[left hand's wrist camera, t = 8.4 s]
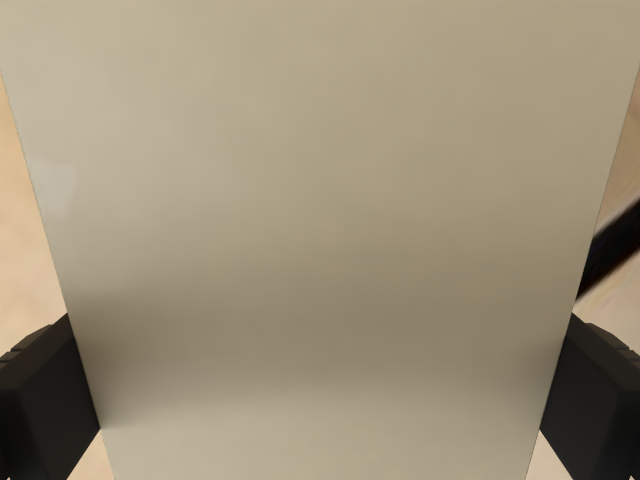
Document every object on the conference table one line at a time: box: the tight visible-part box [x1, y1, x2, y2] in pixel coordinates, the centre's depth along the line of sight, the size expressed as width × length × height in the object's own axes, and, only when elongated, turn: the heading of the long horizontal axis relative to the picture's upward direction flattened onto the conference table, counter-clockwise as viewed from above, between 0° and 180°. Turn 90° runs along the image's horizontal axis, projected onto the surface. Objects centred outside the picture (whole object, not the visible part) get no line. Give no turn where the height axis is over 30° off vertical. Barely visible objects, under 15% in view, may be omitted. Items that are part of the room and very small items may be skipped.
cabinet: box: [0, 0, 640, 480], centre depth 12 cm, size 18×11×11 cm, turn 0°
